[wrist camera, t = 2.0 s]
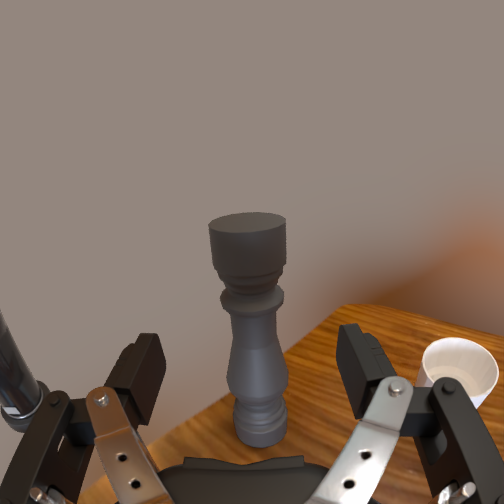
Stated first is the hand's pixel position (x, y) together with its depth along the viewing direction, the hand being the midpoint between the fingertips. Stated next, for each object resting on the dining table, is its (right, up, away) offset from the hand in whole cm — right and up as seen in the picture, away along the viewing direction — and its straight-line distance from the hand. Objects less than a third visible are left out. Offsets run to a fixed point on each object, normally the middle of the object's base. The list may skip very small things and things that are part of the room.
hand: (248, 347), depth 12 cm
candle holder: (+1, -17, +18) cm, 25 cm away
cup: (+23, -17, +14) cm, 32 cm away
